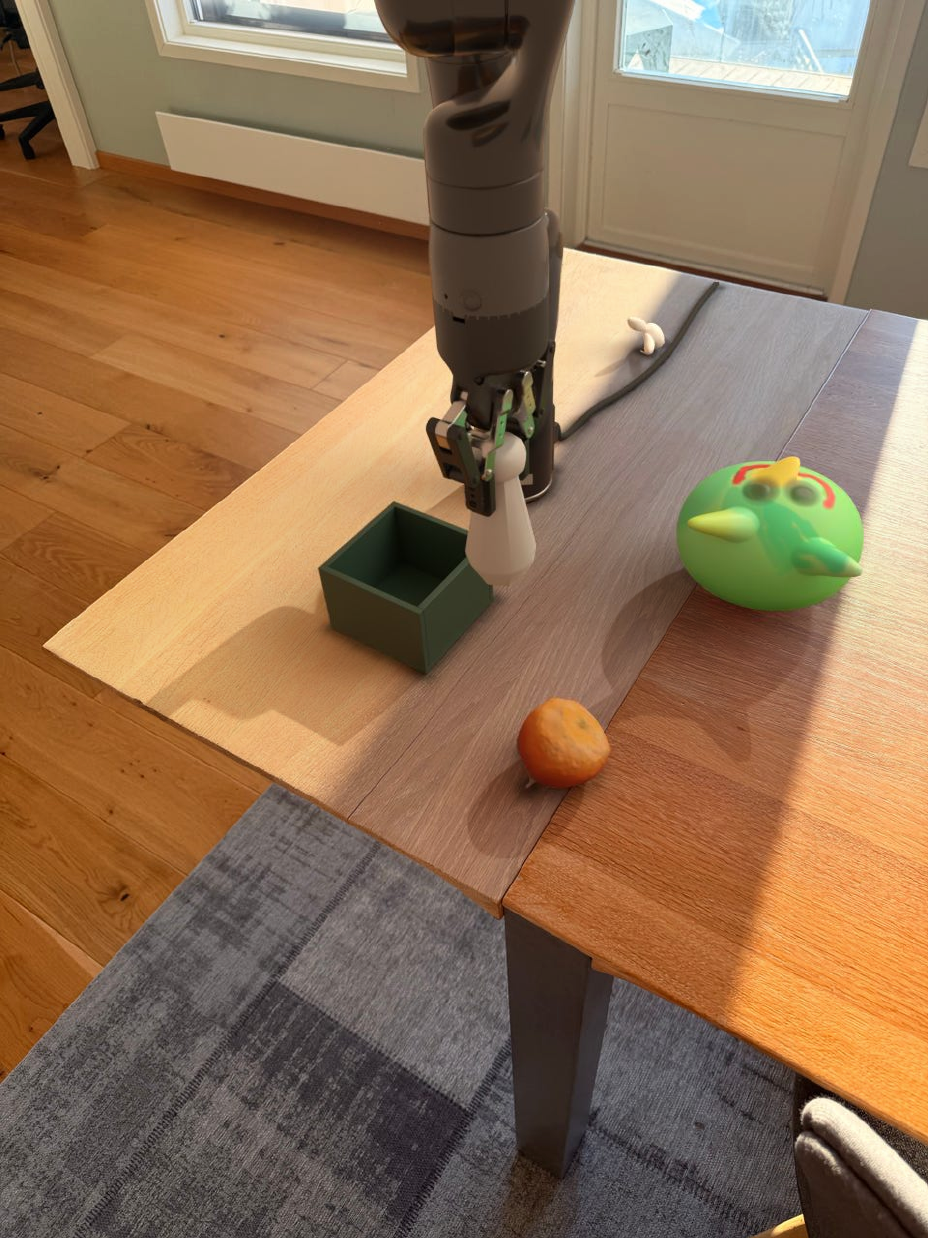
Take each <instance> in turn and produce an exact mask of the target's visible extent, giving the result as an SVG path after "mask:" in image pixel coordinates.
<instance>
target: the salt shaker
mask: <svg viewBox="0 0 928 1238" xmlns="http://www.w3.org/2000/svg"><path fill="white" fill-rule="evenodd" d="M485 434H488V435H490V431H489V432H487V433H485ZM472 451H473V454H474V457H475V459H477V460H480V461H481V458H482V451H481V450H480V449H478V448H475V447H473V449H472ZM525 462H526V450H525V446H524V444H523V442H522V440H521V439H520V438H518V437H517V436H515V435H514V434H512V433H510V432H506V431H505V435H504V443H503V446H502V447H501V448H499V449H497V450H496V456H495V463H494V471H493V474H495V496H496V511H495V512H494V513H493V514H492V515H491V516H490V517H486V516H483V515H480V514H478V513H475V512H472V511H470V515H469V516H470V517H469V524H468V529H467V530H468V536H467V543H466V549H465V552H466V555H467V558H468V560H469V562H470V565H471V566H472V567H473V568H474V569H475V571H476V572H477V573H478V574H479V575H480V576H481V577H482V578H483V579H484V581H485V582H486V583H487V584H488V585H493V586H502V587H511V586H512V585H514V584H515V583H517V582H518V581H520V580H521V579H522V578H524V577H525V576H526V575H527V573H528V572H529V570H530V568H531V567H532V565H533V563H534V561H535V558H536V557H535V556H536V550H537V543H536V539H535V535H534V530H533V527H532V523H531V519H530V516H529V512H528V508H527V503H525V500H524V496H523V492H522V488H521V484H520V480H519V476H518V475H519V474H520V473H521V472H522V471H523V470H524V467H525Z"/></svg>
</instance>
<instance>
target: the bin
mask: <svg viewBox="0 0 928 1238" xmlns="http://www.w3.org/2000/svg"><path fill="white" fill-rule="evenodd" d="M467 536H468V529H466V528H463V527H461V526H458V525H456V524H453V523H450V522H448V521H446V520H444V519H440V518H438V517H436V516H433V515H431V514H428V513H425V512H423V511H420V510H418V509H415V508H413V507H411V506H408V505H405V504H404V503H400V502H397V501H395V500H392V501H391V503H389V504H388V505H387V506H386V507H385V508H384V509H382V510H381V512H379V513H378V514H376V516H375V517H373V518H372V519H371V520H370V521H369V522H368V523H367V524H365V525H364V526H363V527H362V528H361V529H360V530H359V531H357V532H356V534H355V535H353V536H352V537H351V538H350V539H349V540H348V541H346V542H345V543H344V544H343V545H342V546H341V547H340V548H338V550H337V551H335V552H334V553H333V554H331V556H330V557H328V558H327V559H326V560H325V561H324V562H323V563H322V564H320V565H319V566H318V567H317V571H318V576H319V581H320V583H321V588H322V593H323V597H324V602H325V606H326V610H327V615H328V620H329V624H330V628H331V629H333V630H334V631H336V632H338V633H339V634H341V635H344V636H346V637H349V638H350V639H353V640H355V641H356V642H359V643H361V644H363V645H365V646H367V647H369V648H371V649H373V650H375V651H377V652H379V653H381V654H383V655H385V656H386V657H389V658H390V659H393V660H395V661H397V662H399V663H402V664H403V665H406V666H407V667H410V668H411V669H414V670H416V671H418V672H420V673H422V674H424V675H428V673H430V671H431V670H432V669H433V668H434V666H436V665H437V663H438V662H440V660H441V659H442V658H443V657H444V656H445V655H446V653H448V651H449V650H450V649H451V648H452V647H453V646H454V645H455V644H456V642H457V641H458V640H459V639H460V638H462V636H463V635H464V634H465V633H466V632H467V630H468V629H469V628H470V627H471V626H472V625H474V623H475V622H476V620H478V619H479V617H480V616H481V615H482V614H483V612H485V611H486V610H487V608H488V607H489V606H490V605H491V604H492V603H493V602H494V585H488V584H487V583H486V582H485V581H484V579H483V578H482V577H481V576H480V575H479V574H478V573H477V572H476V571H475V569H474V568H473V567H472V566H471V565H470V562H469V560H468V558H467V555H466V552H465V549H466V543H467Z"/></svg>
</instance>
